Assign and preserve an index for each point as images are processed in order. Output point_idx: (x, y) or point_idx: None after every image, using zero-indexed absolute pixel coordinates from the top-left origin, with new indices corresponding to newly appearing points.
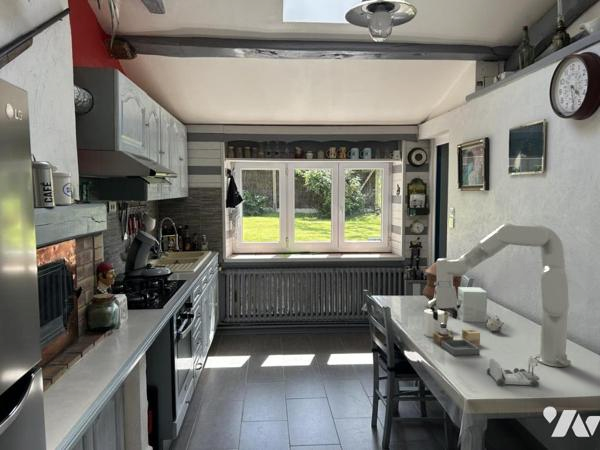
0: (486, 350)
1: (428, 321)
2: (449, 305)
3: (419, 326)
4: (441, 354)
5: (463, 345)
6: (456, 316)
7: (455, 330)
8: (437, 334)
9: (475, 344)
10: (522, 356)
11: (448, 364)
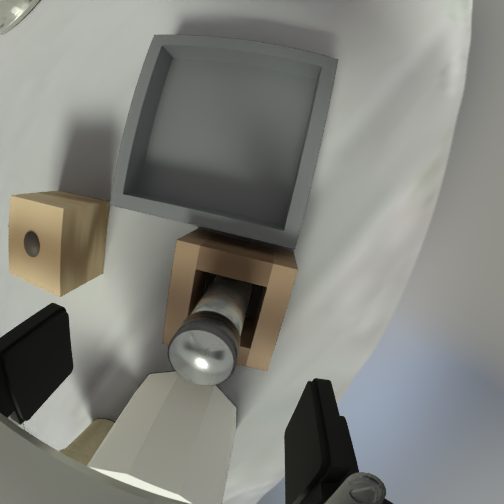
0: (87, 103)
1: (220, 469)
2: (15, 489)
3: None
4: (380, 130)
5: (148, 188)
6: (37, 315)
7: (66, 390)
8: (268, 326)
9: (74, 195)
10: (39, 29)
11: (422, 26)
